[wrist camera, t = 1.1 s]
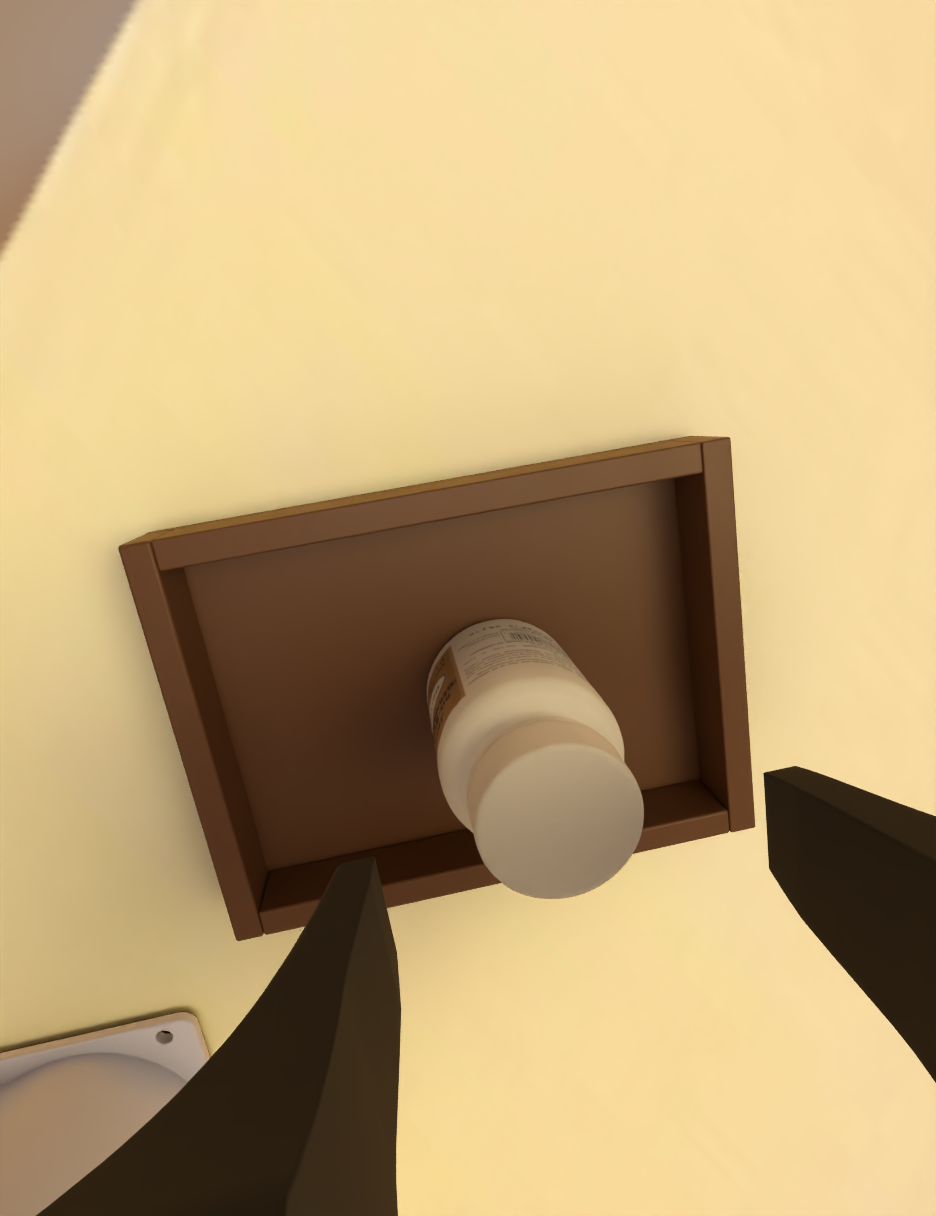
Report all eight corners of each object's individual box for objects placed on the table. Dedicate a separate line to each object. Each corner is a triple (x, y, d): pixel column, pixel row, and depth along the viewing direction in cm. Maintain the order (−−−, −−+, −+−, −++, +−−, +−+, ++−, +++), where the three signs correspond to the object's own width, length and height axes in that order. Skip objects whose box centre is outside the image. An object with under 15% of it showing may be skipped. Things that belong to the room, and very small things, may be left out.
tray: (250, 890, 22) (235, 943, 20) (147, 532, 19) (116, 546, 17) (719, 788, 23) (756, 827, 21) (691, 435, 20) (731, 436, 18)
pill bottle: (402, 649, 21) (414, 774, 13) (542, 594, 21) (633, 687, 13) (456, 774, 22) (495, 954, 14) (587, 721, 22) (694, 873, 14)
